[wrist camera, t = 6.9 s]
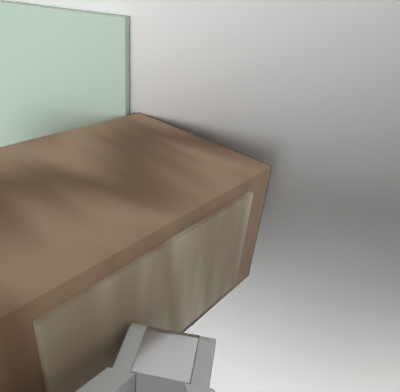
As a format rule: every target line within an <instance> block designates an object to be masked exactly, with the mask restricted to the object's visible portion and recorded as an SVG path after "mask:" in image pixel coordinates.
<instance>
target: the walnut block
mask: <svg viewBox="0 0 400 392" xmlns="http://www.w3.org/2000/svg"><path fill="white" fill-rule="evenodd" d="M271 168H272V166H270V165H268V164H265V163H263V162H260V161H258V160H255V159H253V158H250V157H248V156H245V155H243V154H240V153H238V152H236V151H233V150H231V149H228V148H226V147H223V146H221V145H218V144H216V143H213V142H211V141H208V140H206V139H203V138H201V137H199V136H196V135H194V134H191V133H189V132H186V131H184V130H181V129H179V128H176V127H174V126H171V125H169V124H167V123H164V122H162V121H159V120H157V119H154V118H152V117H149V116H147V115H144V114H142V113H135V114H131V115H127V116H123V117H119V118H115V119H111V120H107V121H103V122H99V123H95V124H91V125H87V126H83V127H79V128H75V129H71V130H67V131H63V132H59V133H55V134H51V135H47V136H43V137H39V138H35V139H31V140H27V141H23V142H19V143H15V144H11V145H7V146H3V147H0V392H76V391H77V390H78V389H80V388H81V387H82V386H84V385H85V384H86V383H88V382H89V381H90V380H92V379H93V378H94V377H95V376H97V375H98V374H99V373H101V372H102V371H103V370H105V369H106V368H107V367H109V368H112V367H113V365H114V363H115V360H116V358H117V355H118V353H119V350H120V348H121V345H122V343H123V340H124V338H125V336H126V333H127V331H128V328H129V326H130V325H131V324H132V323H136V324H141V325H146V326H151V327H155V328H160V329H164V330H171V331H176V332H182V333H184V332H185V331H186V330H187V329H188V328H189V327H190V326H192V325H193V324H194V323H195V322H196V321H197V320H198V319H200V318H201V317H202V316H203V315H204V314H205V313H206V312H208V311H209V310H210V309H211V308H212V307H213V306H214V305H215V304H217V303H218V302H219V301H220V300H221V299H222V298H223V297H225V296H226V295H227V294H228V293H229V292H230V291H231V290H233V289H234V288H235V287H236V286H237V285H238V284H239V283H240V282H242V281H243V280H244V279H245V278H246V277H247V276H248V275H249V271H250V266H251V261H252V257H253V252H254V247H255V242H256V238H257V233H258V228H259V224H260V219H261V214H262V210H263V205H264V200H265V196H266V191H267V186H268V182H269V177H270V172H271Z"/></svg>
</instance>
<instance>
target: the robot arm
mask: <svg viewBox="0 0 400 392" xmlns="http://www.w3.org/2000/svg"><path fill="white" fill-rule="evenodd" d="M215 344H216V339H213V338H207V337H202V336H200V337H199V335H193V334H188V333H182V332H176V331H171V330H164V329H160V328H155V327H151V326H146V325H141V324H136V323H132V324H131V325H130V326H129V328H128V331H127V333H126V336H125V338H124V340H123V343H122V345H121V348H120V350H119V353H118V355H117V358H116V360H115V363H114V365H113V367H112V368H109V367H107V368H106V369H105V370H103V371H102V372H101V373H99V374H98V375H97V376H95V377H94V378H93V379H92V380H90V381H89V382H88V383H86V384H85V385H84V386H82V387H81V388H80V389H78V390H77V391H76V392H215V390H214V389H211V388H209V385H210V378H211V371H212V365H213V358H214V351H215Z"/></svg>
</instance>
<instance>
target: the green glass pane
mask: <svg viewBox="0 0 400 392" xmlns="http://www.w3.org/2000/svg"><path fill="white" fill-rule="evenodd" d="M127 115H129V16H121V15H113V14H105V13H97V12H89V11H81V10H73V9H65V8H57V7H49V6H41V5H33V4H25V3H17V2H9V1H1V0H0V147H3V146H7V145H11V144H15V143H19V142H23V141H27V140H31V139H35V138H39V137H43V136H47V135H51V134H55V133H59V132H63V131H67V130H71V129H75V128H79V127H83V126H87V125H91V124H95V123H99V122H103V121H107V120H111V119H115V118H119V117H123V116H127Z"/></svg>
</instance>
